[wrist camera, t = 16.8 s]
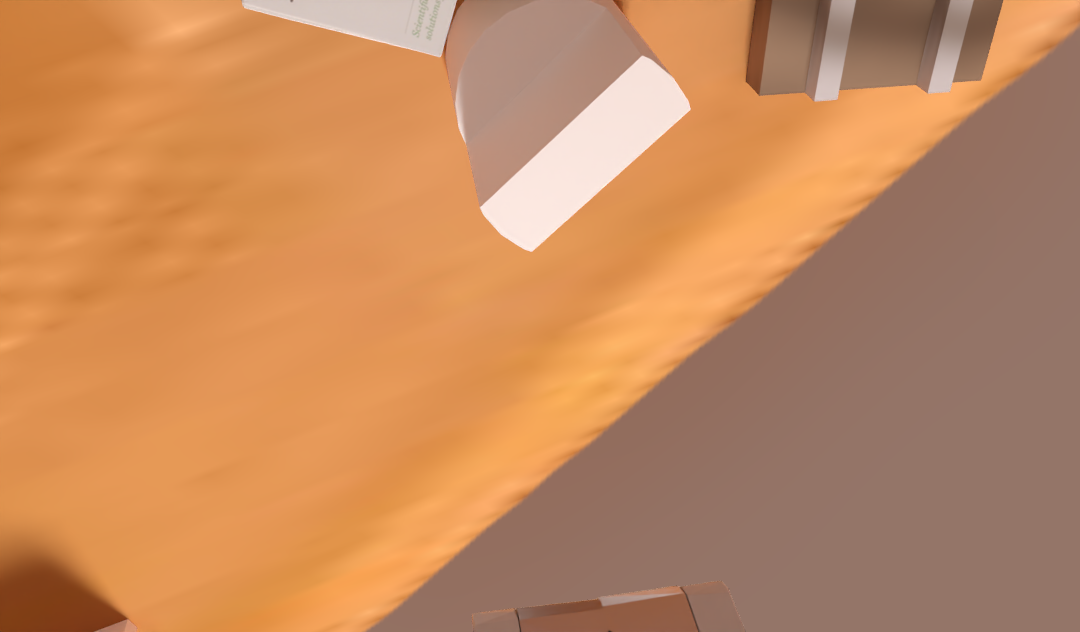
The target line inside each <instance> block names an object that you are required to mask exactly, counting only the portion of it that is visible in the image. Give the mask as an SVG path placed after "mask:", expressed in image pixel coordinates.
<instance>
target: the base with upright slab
mask: <svg viewBox="0 0 1080 632" xmlns="http://www.w3.org/2000/svg"><path fill="white" fill-rule="evenodd" d="M445 59H446V65H447V72H448V78H449V84H450V88H451V93H452V98H453V103H454V107H455V112H456V117H457V122H458V126H459V130H460V132H461V134H462V137H463V139H464V141H465V143H466V146H467V150H468V155H469V160H470V164H471V169H472V173H473V178H474V183H475V187H476V192H477V196H478V201H479V205H480V209H481V211H482V213H483V215H484V216H485V217H486V218H487V219H488V221H489V222H490V223H491V224H492V225H493V226H494V227H495V228H496V230H497V231H498V232H499V233H500V234H501V235H502V236H504V237H505V238H507V239H509V240H510V241H512V242H513V243H515V244H516V245H518V246H520V247H521V248H523V249H525V250H528V251H531V252H532V251H533V250H534V249H535V248H536V247H538V246H539V245H540V244H541V243H542V242H543V241H544V240H545V239H546V238H548V237H549V236H550V235H551V234H552V233H553V232H554V231H555V230H557V229H558V228H559V227H560V226H561V225H562V224H563V223H564V222H565V221H567V220H568V219H569V218H570V217H571V216H572V215H573V214H574V213H576V212H577V211H578V210H579V209H580V208H581V207H582V206H583V205H584V204H586V203H587V202H588V201H589V200H590V199H591V198H592V197H593V196H595V195H596V194H597V193H598V192H599V191H600V190H601V189H602V188H603V187H605V186H606V185H607V184H608V183H609V182H610V181H611V180H612V179H614V178H615V177H616V176H617V175H618V174H619V173H620V172H621V171H622V170H624V169H625V168H626V167H627V166H628V165H629V164H630V163H631V162H632V161H634V160H635V159H636V158H637V157H638V156H639V155H640V154H641V153H643V152H644V151H645V150H646V149H647V148H648V147H649V146H650V145H651V144H653V143H654V142H655V141H656V140H657V139H658V138H659V137H660V136H662V135H663V134H664V133H665V132H666V131H667V130H668V129H669V128H670V127H672V126H673V125H674V124H675V123H676V122H677V121H678V120H679V119H681V118H682V117H683V116H684V115H685V114H686V113H687V112H688V111H689V110H691V109H690V105H689V102H688V100H687V98H686V97H685V95H684V94H683V92H682V91H681V89H680V88H679V86H678V84H677V83H676V81H675V80H674V78H673V77H672V76H671V74H670V73H669V72H668V71H667V69H666V68H665V67H664V65H663V64H662V63H661V62H660V60H659V59H658V58H657V56H656V55H655V54H654V53H653V51H652V50H651V49H650V47H649V46H648V45H647V44H646V42H645V41H644V40H643V38H642V37H641V36H640V35H639V33H638V32H637V31H636V29H635V28H634V27H633V26H632V24H631V23H630V22H629V20H628V19H627V18H626V17H625V15H624V14H623V13H622V11H621V10H620V9H619V8H618V6H617V5H616V4H615V2H614V1H613V0H464V2H463V3H462V4H461V6H460V7H459V9H458V10H457V12H456V14H455V17H454V19H453V22H452V25H451V27H450V30H449V32H448V37H447V47H446V56H445Z"/></svg>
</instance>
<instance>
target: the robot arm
mask: <svg viewBox="0 0 1080 632" xmlns="http://www.w3.org/2000/svg"><path fill="white" fill-rule="evenodd" d="M472 624H473V632H746V631H745V628H744V626H743V623H742V621H741V618H740V616H739V613H738V611H737V608H736V606H735V604H734V601H733V599H732V596H731V594H730V591H729V589H728V588H727V586H726V585H725V584H724V583H723V582H722V581H714V582H708V583H701V584H695V585H688V586H682V587H678V586H672V587H665V588H658V589H652V590H646V591H638V592H632V593H625V594H618V595H612V596H606V597H599V598H597V599H595V600H587V601H578V602H569V603H561V604H551V605H543V606H534V607H525V608H517V609H516V610H515V608H513V609H505V610H498V611H490V612H483V613H475V614H472Z"/></svg>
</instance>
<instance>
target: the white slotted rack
mask: <svg viewBox="0 0 1080 632" xmlns="http://www.w3.org/2000/svg"><path fill="white" fill-rule="evenodd" d="M95 632H137V627H136V626H135V625H134V624H133V623H132V622H131V621H130V620H129V619H126V620H124V621H121V622H118V623H116V624H113V625H111V626H108V627H105V628H103V629H100V630H97V631H95Z"/></svg>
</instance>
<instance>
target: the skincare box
mask: <svg viewBox="0 0 1080 632" xmlns="http://www.w3.org/2000/svg"><path fill="white" fill-rule="evenodd" d="M456 2H457V0H242V4H243V7H244V8H247V9H250V10H254V11H258V12H262V13H266V14H269V15H273V16H277V17H281V18H285V19H289V20H293V21H297V22H301V23H305V24H309V25H313V26H317V27H321V28H325V29H329V30H333V31H338V32H342V33H346V34H350V35H354V36H358V37H362V38H366V39H370V40H374V41H378V42H383V43H387V44H391V45H395V46H399V47H403V48H407V49H411V50H415V51H419V52H423V53H427V54H430V55H434V56H437V57H440V56H441V55H442V52H443V48H444V45H445V41H446V38H447V34H448V31H449V27H450V23H451V20H452V16H453V13H454V9H455V6H456Z"/></svg>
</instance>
